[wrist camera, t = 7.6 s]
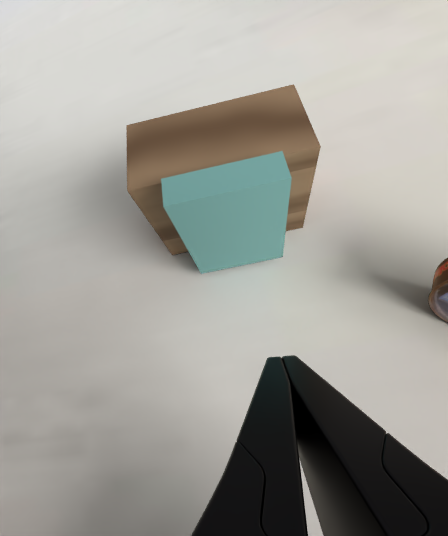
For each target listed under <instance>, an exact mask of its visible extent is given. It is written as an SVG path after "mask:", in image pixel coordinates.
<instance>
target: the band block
mask: <svg viewBox="0 0 448 536" xmlns="http://www.w3.org/2000/svg"><path fill="white" fill-rule="evenodd" d="M320 147H321V146H320V144H319V142H318V139H317V137H316V135H315V132H314V130H313V128H312V125H311V123H310V121H309V118H308V116H307V114H306V111H305V109H304V107H303V104H302V102H301V100H300V97H299V95H298V93H297V90H296V88H295V86H294V85H290V86H285V87H281V88H277V89H273V90H269V91H265V92H261V93H257V94H253V95H249V96H245V97H241V98H236V99H232V100H228V101H224V102H220V103H216V104H212V105H208V106H204V107H200V108H196V109H192V110H187V111H183V112H179V113H175V114H171V115H167V116H163V117H159V118H155V119H151V120H147V121H143V122H138V123H134V124H130V125H127V191H128V192H129V194H130V195H131V197H132V198H133V200H134V201H135V202H136V204H137V205H138V207H139V208H140V210H141V211H142V212H143V214H144V215H145V217H146V218H147V220H148V221H149V222H150V224H151V225H152V227H153V228H154V230H155V231H156V232H157V234H158V235H159V237H160V238H161V239H162V241H163V242H164V244H165V245H166V247H167V248H168V249H169V251H170V252H171V254H172V255H175V254H180V253H184V252H189V251H188V249H187V248H186V246H185V244H184V242H183V241H182V239H181V237H180V235H179V233H178V232H177V230H176V228H175V226H174V225H173V223H172V221H171V219H170V218H169V216H168V214H167V212H166V210H165V209H164V207H163V196H162V183H161V179H162V178H167V177H171V176H175V175H180V174H184V173H188V172H193V171H197V170H201V169H206V168H210V167H214V166H219V165H223V164H227V163H232V162H236V161H240V160H245V159H249V158H253V157H258V156H262V155H267V154H271V153H275V152H280V151H283V154H284V157H285V160H286V163H287V166H288V169H289V172H290V175H291V178H292V180H291V188H290V197H289V205H288V214H287V223H286V231H288V230H293V229H298V228H303V224H304V219H305V215H306V210H307V206H308V201H309V197H310V192H311V188H312V183H313V178H314V174H315V169H316V165H317V160H318V156H319V151H320Z"/></svg>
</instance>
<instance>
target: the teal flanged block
mask: <svg viewBox="0 0 448 536" xmlns="http://www.w3.org/2000/svg"><path fill="white" fill-rule="evenodd" d="M291 180H292V178H291V175H290V172H289V169H288V166H287V163H286V160H285V157H284V154H283V151H280V152H275V153H271V154H267V155H262V156H258V157H253V158H249V159H245V160H240V161H236V162H232V163H227V164H223V165H219V166H214V167H210V168H206V169H201V170H197V171H193V172H188V173H184V174H180V175H175V176H171V177H167V178H162V179H161V183H162V196H163V207H164V209H165V210H166V212H167V214H168V216H169V218H170V219H171V221H172V223H173V225H174V226H175V228H176V230H177V232H178V233H179V235H180V237H181V239H182V241H183V242H184V244H185V246H186V248H187V249H188V251H189V253H190V255H191V256H192V258H193V260H194V262H195V264H196V265H197V267H198V269H199V271H200V272H201V274H202V273H207V272H212V271H217V270H222V269H226V268H231V267H236V266H241V265H246V264H251V263H256V262H261V261H265V260H270V259H275V258H280V257H283V248H284V240H285V231H286V223H287V214H288V205H289V197H290V188H291Z"/></svg>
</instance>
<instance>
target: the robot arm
mask: <svg viewBox="0 0 448 536" xmlns="http://www.w3.org/2000/svg"><path fill="white" fill-rule="evenodd" d="M299 458H300V461H301V465H302V468H303V471H304V474H305V477H306V481H307V484H308V487H309V490H310V493H311V497H312V500H313V503H314V506H315V509H316V513H317V516H318V519H319V522H320V526H321V529H322V532H323V535H324V536H448V480H447V479H446V478H445V477H443V476H442V475H441V474H439V473H438V472H437V471H435V470H434V469H432V468H431V467H430V466H428V465H427V464H426V463H425V462H423V461H422V460H421V459H420V458H418V457H417V456H416V455H415V454H413V453H412V452H411V451H410V450H408V449H407V448H406V447H405V446H403V445H402V444H401V443H400V442H398V441H397V440H396V439H395V438H394V437H393V436H391V435H390V434H389V433H387V434H386V431H385V430H384V429H383V428H382V427H380V426H379V425H378V424H377V423H376V422H374V421H373V420H372V419H371V418H370V417H368V416H367V415H366V414H365V413H364V412H362V411H361V410H360V409H359V408H358V407H356V406H355V405H354V404H353V403H352V402H350V401H349V400H348V399H347V398H346V397H344V396H343V395H342V394H341V393H340V392H338V391H337V390H336V389H335V388H334V387H332V386H331V385H330V384H329V383H328V382H326V381H325V380H324V379H323V378H322V377H321V376H319V375H318V374H317V373H316V372H315V371H313V370H312V369H311V368H310V367H309V366H307V365H306V364H305V363H304V362H303V361H301V360H300V359H299V358H298V357H297V356H294V355H293V356H283V357H282V358H281V357H269V358H267V360H266V363H265V366H264V368H263V371H262V374H261V376H260V379H259V382H258V385H257V387H256V390H255V393H254V395H253V398H252V401H251V403H250V406H249V409H248V411H247V414H246V417H245V419H244V422H243V425H242V427H241V430H240V433H239V435H238V438H237V442H236V443H235V446H234V448H233V451H232V454H231V456H230V459H229V461H228V463H227V466H226V468H225V471H224V473H223V475H222V477H221V479H220V481H219V484H218V486H217V488H216V490H215V492H214V494H213V496H212V498H211V500H210V501H209V503H208V505H207V507H206V509H205V511H204V513H203V515H202V516H201V518H200V520H199V522H198V524H197V526H196V528H195V530H194V531H193V533H192V535H191V536H308V532H307V523H306V515H305V506H304V497H303V488H302V479H301V470H300V461H299Z"/></svg>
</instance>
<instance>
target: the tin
mask: <svg viewBox="0 0 448 536" xmlns="http://www.w3.org/2000/svg"><path fill="white" fill-rule="evenodd" d="M428 302H429V306H430V308H431V309H432V311H433V312H434V313H435V314H436V315H437V316H438V317H440V318H441V319H443V320H444V321H446V322H447V323H448V258H447V259H445V260H444V261H443V262H442V263H441V264H440V265H439V266H438V267H437V269H436V271H435V275H434V279H433V285H432V291H431V293H430V295H429V298H428Z"/></svg>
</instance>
